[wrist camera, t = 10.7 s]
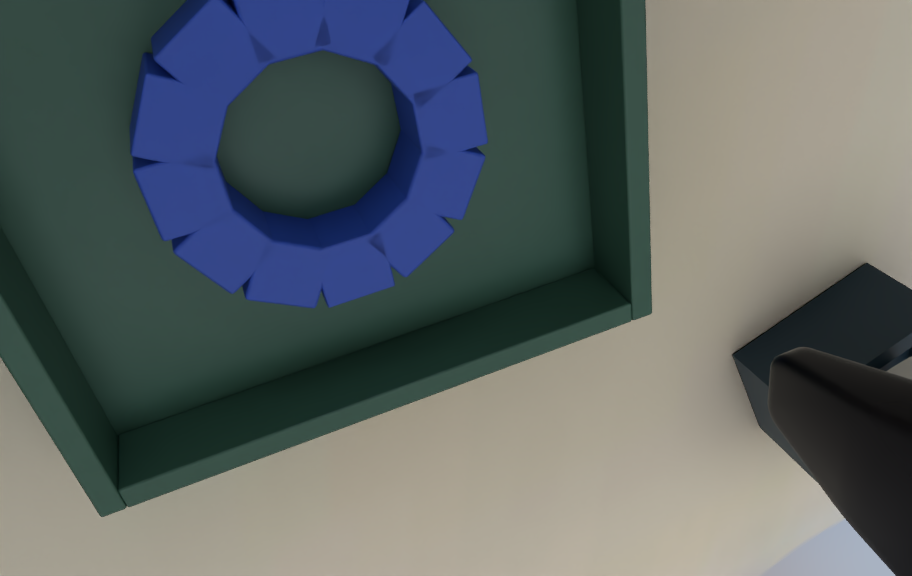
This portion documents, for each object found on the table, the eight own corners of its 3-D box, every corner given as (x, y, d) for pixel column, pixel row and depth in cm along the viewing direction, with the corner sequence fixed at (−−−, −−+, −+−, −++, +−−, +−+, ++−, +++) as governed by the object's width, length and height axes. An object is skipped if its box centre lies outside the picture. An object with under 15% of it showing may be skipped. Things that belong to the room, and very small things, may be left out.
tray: (102, 446, 20) (100, 518, 18) (-241, -146, 12) (-312, -137, 10) (605, 269, 23) (652, 314, 21) (571, -295, 15) (640, -312, 13)
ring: (202, 312, 18) (208, 349, 17) (73, 5, 14) (68, 24, 13) (479, 221, 20) (504, 249, 18) (430, -80, 16) (458, -70, 14)
